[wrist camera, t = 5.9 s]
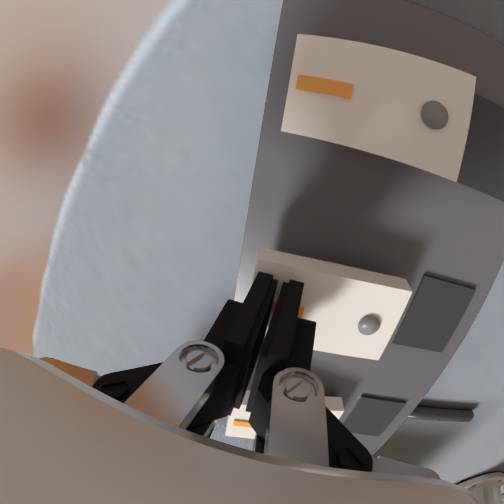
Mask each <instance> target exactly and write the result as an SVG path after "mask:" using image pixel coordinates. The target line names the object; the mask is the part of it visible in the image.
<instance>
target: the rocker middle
mask: <svg viewBox="0 0 504 504" xmlns="http://www.w3.org/2000/svg"><path fill="white" fill-rule="evenodd" d="M258 272H263V273H267V274H271V275H273V279H275V280H278V283H277V287H276V292H275V296H274V301H273V305H272V309H271V313H270V318H269V322H268V326H267V330H268V327H269V324H270V321H271V318H272V315H273V312H274V309H275V306H276V303H277V300H278V297H279V294H280V291H281V288H282V284H283V282H287V283H289V281H290V279H291V280H295V281H299V282H303V283H304V288H303V293H302V298H301V303H300V308H299V312H298V318H302V319H306V320H311V321H315V322H316V331H315V339H314V346H313V350H316V351H322V352H327V353H333V354H339V355H345V356H352V357H358V358H365V359H372V360H379V358H380V357H381V355H382V353H383V351H384V349H385V347H386V345H387V344H388V342H389V340H390V338H391V336H392V334H393V332H394V330H395V328H396V326H397V324H398V322H399V320H400V318H401V316H402V314H403V312H404V309H405V307H406V305H407V303H408V301H409V298H410V296H411V294H412V290H411V288H410V286H409V284H408V282H407V280H406V279H404V278H400V277H395V276H391V275H386V274H382V273H377V272H372V271H368V270H363V269H359V268H354V267H350V266H345V265H340V264H336V263H331V262H327V261H322V260H317V259H313V258H308V257H303V256H299V255H294V254H290V253H285V252H280V251H276V250H271V249H266V248H260V251H259V254H258V257H257V260H256V266H255V271H254V277H253V282H254V280H255V278H256V276H257V274H258ZM253 282H252V284H253ZM267 330H266V333H267ZM265 336H266V335H265ZM264 339H265V338H264Z"/></svg>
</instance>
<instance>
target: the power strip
mask: <svg viewBox="0 0 504 504" xmlns="http://www.w3.org/2000/svg"><path fill="white" fill-rule="evenodd" d="M297 34H305V35H315V36H323V37H331V38H338V39H344V40H350V41H356V42H362V43H367V44H372V45H376V46H381V47H385V48H390V49H394V50H398V51H402V52H405V53H409V54H413V55H416V56H419V57H423V58H426V59H429V60H432V61H435V62H438V63H441V64H444V65H447V66H450V67H453V68H455V69H458V70H461V71H463V72H466V73H468V74H471V75H473V76H476V84H475V92H474V100H473V107H472V113H471V119H470V125H469V130H468V135H467V140H466V145H465V150H464V154H463V159H462V163H461V167H460V171H459V175H458V179H457V182H454V181H452V180H449V179H447V178H444V177H441V176H439V175H436V174H433V173H431V172H428V171H425V170H422V169H419V168H416V167H414V166H411V165H408V164H405V163H402V162H399V161H395V160H392V159H389V158H386V157H383V156H379V155H376V154H373V153H369V152H366V151H362V150H359V149H355V148H351V147H348V146H344V145H340V144H336V143H332V142H328V141H324V140H320V139H315V138H311V137H306V136H302V135H297V134H292V133H288V132H283V131H281V127H282V121H283V115H284V110H285V104H286V98H287V92H288V87H289V81H290V75H291V69H292V63H293V57H294V51H295V45H296V39H297ZM260 248H266V249H271V250H276V251H280V252H285V253H290V254H294V255H299V256H303V257H308V258H313V259H317V260H322V261H327V262H331V263H336V264H340V265H345V266H350V267H354V268H359V269H363V270H368V271H372V272H377V273H382V274H386V275H391V276H395V277H400V278H404V279H406V280H407V282H408V284H409V286H410V288H411V290H412V294H411V296H410V298H409V301H408V303H407V305H406V307H405V309H404V312H403V314H402V316H401V318H400V320H399V322H398V324H397V326H396V328H395V330H394V332H393V334H392V336H391V338H390V340H389V342H388V344H387V345H386V347H385V349H384V351H383V353H382V355H381V357H380V358H379V360H372V359H365V358H358V357H352V356H345V355H339V354H333V353H327V352H322V351H316V350H313V354H312V361H311V368H310V372H312V373H314V374H315V375H316V376H317V377H319V379H320V380H321V382H322V384H323V387H324V395H325V397H342V402H343V407H344V412H343V414H342V415H341V417H340V418H339V421H340V422H341V423H342V424H343V425H344V426H345V427H346V428H347V429H348V430H349V431H350V432H351V433H352V434H353V435H354V436H355V437H356V438H357V439H358V440H359V441H360V442H361V443H362V444H363V446H364V447H365V448H366V449H367V450H368V451H369V453H370V454H371V456H373V455H374V454H375V453H376V452H377V451H378V450H379V449H380V448H381V446H382V445H383V444H384V443H385V442H386V441H387V440H388V439H389V438H390V437H391V436H392V435H393V434H394V432H395V431H396V430H397V429H398V428H399V427H400V426H401V424H402V423H403V422H404V421H405V420H406V419H407V418H412V419H424V420H438V421H459V422H469V421H471V420H472V419H473V416H474V413H473V412H472V411H471V410H454V409H440V408H429V407H419V406H417V405H418V404H419V403H420V401H421V400H422V399H423V398H424V396H425V395H426V394H427V392H428V391H429V390H430V388H431V387H432V386H433V384H434V383H435V382H436V380H437V379H438V377H439V376H440V375H441V373H442V372H443V370H444V369H445V367H446V366H447V364H448V363H449V361H450V360H451V358H452V357H453V355H454V354H455V352H456V350H457V349H458V347H459V346H460V344H461V342H462V341H463V339H464V337H465V336H466V334H467V332H468V331H469V329H470V327H471V325H472V324H473V322H474V320H475V318H476V317H477V315H478V313H479V311H480V309H481V307H482V305H483V303H484V301H485V299H486V297H487V295H488V293H489V291H490V289H491V287H492V285H493V283H494V281H495V279H496V276H497V274H498V272H499V270H500V267H501V265H502V263H503V260H504V44H502V43H500V42H499V41H497V40H495V39H493V38H491V37H490V36H488V35H486V34H484V33H482V32H480V31H478V30H476V29H474V28H472V27H470V26H468V25H466V24H464V23H462V22H460V21H458V20H456V19H453V18H451V17H449V16H446V15H444V14H442V13H439V12H437V11H434V10H432V9H429V8H426V7H424V6H421V5H418V4H415V3H412V2H409V1H406V0H283V5H282V10H281V16H280V22H279V27H278V33H277V39H276V45H275V50H274V56H273V62H272V68H271V74H270V80H269V86H268V91H267V97H266V103H265V109H264V115H263V121H262V127H261V134H260V140H259V146H258V152H257V158H256V164H255V170H254V177H253V183H252V189H251V195H250V202H249V208H248V214H247V221H246V227H245V234H244V240H243V247H242V253H241V260H240V266H239V273H238V279H237V286H236V292H235V299H234V301H238V302H241V303H243V302H244V300H245V298H246V296H247V294H248V292H249V290H250V288H251V286H252V282H253V277H254V271H255V266H256V260H257V257H258V254H259V251H260ZM259 355H260V354H259ZM258 358H259V356H258ZM257 362H258V359H257ZM257 362H256V365H255V368H254V371H253V373H252V376H251V379H250V382H249V385H248V387H247V390H250V391H251V387H252V383H253V379H254V375H255V371H256V367H257ZM227 418H228V416H226V417H223V418H220V419H217V423H219V424H222V425H225V426H226V424H227Z"/></svg>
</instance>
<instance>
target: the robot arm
mask: <svg viewBox="0 0 504 504" xmlns="http://www.w3.org/2000/svg"><path fill="white" fill-rule="evenodd" d="M277 283H278V280H275V279H273V275H271V274H267V273H263V272H258V274H257V276H256V278H255V280H254V282H253V284H252V286H251V288H250V290H249V292H248V294H247V296H246V298H245V300H244V302H243V303H241V302H238V301H234V300H230V299H229V300H228V301H227V302H226V304H225V306H224V307H223V309H222V311H221V312H220V314H219V316H218V317H217V319H216V321H215V323H214V324H213V326H212V328H211V329H210V331H209V333H208V334H207V336H206V338H205V339H204V341H189V342H186V343H184V344H182V345H181V346H179V347H178V348H177V349H176V350H175V351H174V352H173V353H172V354H171V355H170V356H169V357H168V358H167V359H166V360H165V361H164V362H163V363H158V364H153V365H149V366H144V367H139V368H134V369H129V370H124V371H119V372H113V373H109V374H106V375H103V376H99V375H98V373H97V372H96V371H92V370H89V369H85V368H82V367H78V366H75V365H72V364H69V363H65V362H62V361H59V360H56V359H53V358H49V357H43V358H36V357H34V356H31V355H29V354H26V353H23V352H20V351H15V350H11V349H5V348H0V504H504V493H502V494H501V490H500V487H501V486H502V485H503V484H504V474H503V473H501V472H494V473H489V474H485V475H481V476H478V477H475V478H472V479H469V480H467V481H464V482H462V483H459V484H457V485H455V484H453V483H450V482H447V481H444V480H441V479H440V477H439V475H438V474H437V473H436V472H435V471H433V470H431V469H428V468H424V467H420V466H416V465H412V464H408V463H405V462H401V461H397V460H394V459H391V458H387V457H384V456H381V455H379V456H378V457H377V458H376V457H373V456H371V454H370V453H369V451H368V450H367V449H366V448H365V447H364V446H363V444H362V443H361V442H360V441H359V440H358V439H357V438H356V437H355V436H354V435H353V434H352V433H351V432H350V431H349V430H348V429H347V428H346V427H345V426H344V425H343V424H342V423H341V422H340V421H339V420H338V418H337V417H336V416H335V415H334V414H333V413H332V412H331V411H330V410H329V409H328V408H327V407H326V406H325V395H324V387H323V384H322V382H321V380H320V379H319V377H317V376H316V375H315V374H314V373H312V372H310V368H311V361H312V354H313V346H314V339H315V331H316V322H315V321H311V320H306V319H302V318H298V312H299V308H300V303H301V298H302V293H303V288H304V283H303V282H299V281H295V280H291V279H290V281H289V283H287V282H283V284H282V288H281V291H280V294H279V297H278V300H277V303H276V306H275V309H274V312H273V315H272V318H271V321H270V324H269V327H268V330H267V326H268V322H269V318H270V313H271V309H272V305H273V301H274V296H275V292H276V287H277ZM266 330H267V333H266ZM265 335H266V336H265ZM264 338H265V339H264ZM259 354H260V355H259ZM258 356H259V358H258ZM257 359H258V362H257ZM256 362H257V367H256V371H255V375H254V379H253V383H252V387H251V391H250V395H249V398H248V402H247V406H246V410H245V411H247V412H250V413H251V414H250V417H249V421H248V422H249V424H250V425H251V427H252V428H253V429H254V431H255V432H256V434H255V438H254V446H253V451H250V450H246V449H243V448H239V447H236V446H232V445H229V444H226V443H223V442H219V441H216V440H213V439H210V438H207V436H208V435H209V433H210V432H211V430H212V429H213V427H214V426H215V423H216V421H217V419H220V418H223V417H226V416H228V415H229V416H231V413H232V411H233V408H236V409H240V407H241V404H242V401H243V398H244V396H245V393H246V390H247V387H248V385H249V382H250V379H251V376H252V373H253V371H254V368H255V365H256Z"/></svg>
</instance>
